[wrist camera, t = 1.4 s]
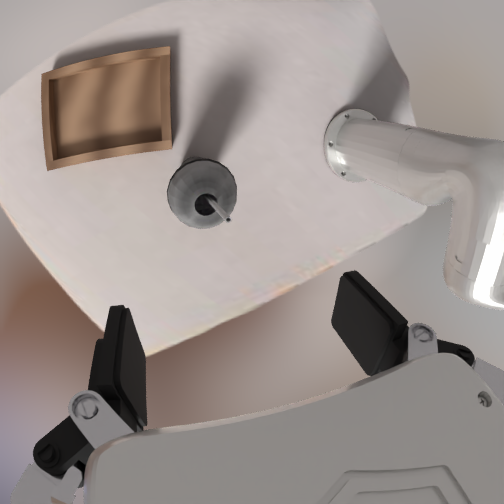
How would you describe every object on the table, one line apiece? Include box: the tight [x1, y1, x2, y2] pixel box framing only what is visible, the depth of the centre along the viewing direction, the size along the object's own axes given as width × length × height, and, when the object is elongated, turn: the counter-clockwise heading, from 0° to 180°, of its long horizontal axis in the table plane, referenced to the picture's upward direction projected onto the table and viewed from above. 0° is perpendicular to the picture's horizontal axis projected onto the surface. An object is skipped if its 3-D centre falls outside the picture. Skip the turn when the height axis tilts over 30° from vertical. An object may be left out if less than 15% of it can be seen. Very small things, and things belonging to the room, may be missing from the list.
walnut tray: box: [41, 46, 172, 171], centre depth 29 cm, size 18×14×3 cm
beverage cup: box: [167, 157, 237, 229], centre depth 29 cm, size 7×7×20 cm
